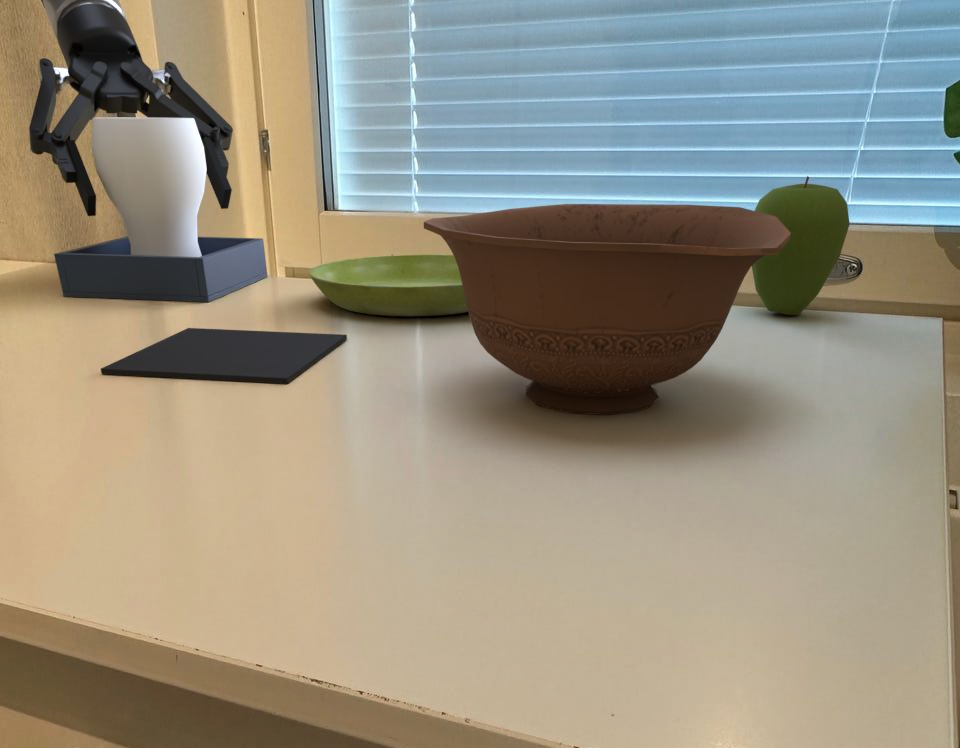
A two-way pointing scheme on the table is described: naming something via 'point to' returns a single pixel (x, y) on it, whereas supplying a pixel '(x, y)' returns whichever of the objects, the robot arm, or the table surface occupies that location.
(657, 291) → the bowl
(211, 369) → the mat
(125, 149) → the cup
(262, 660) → the table surface
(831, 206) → the apple
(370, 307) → the saucer
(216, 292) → the bin
